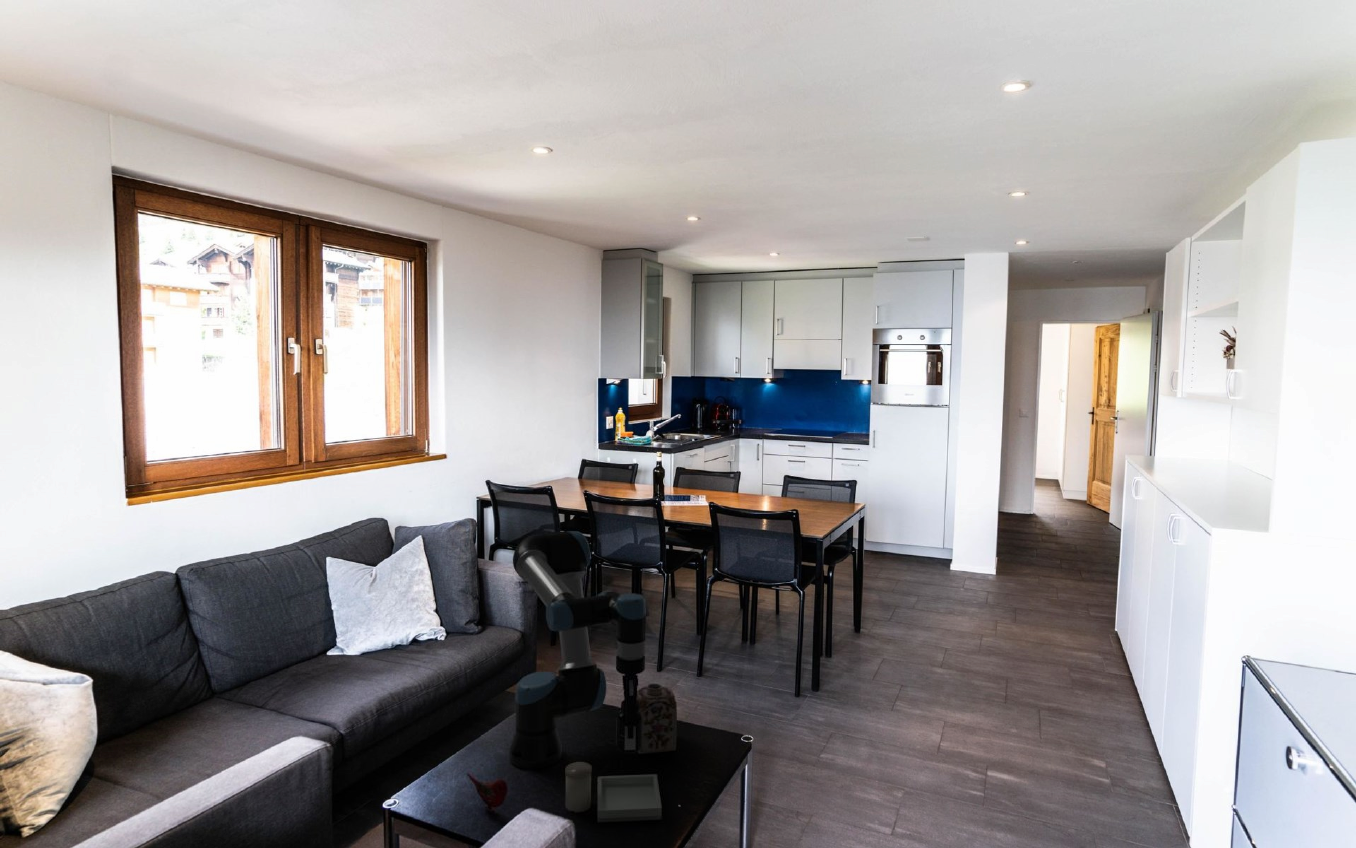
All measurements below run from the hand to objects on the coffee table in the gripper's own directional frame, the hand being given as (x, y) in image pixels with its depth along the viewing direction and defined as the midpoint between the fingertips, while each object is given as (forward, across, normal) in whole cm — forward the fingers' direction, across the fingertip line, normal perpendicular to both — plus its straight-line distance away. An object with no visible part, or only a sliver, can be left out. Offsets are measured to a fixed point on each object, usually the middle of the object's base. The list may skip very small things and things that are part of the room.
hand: (629, 742), depth 192 cm
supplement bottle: (+2, 0, 0) cm, 2 cm away
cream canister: (+16, 0, -13) cm, 21 cm away
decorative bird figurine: (+17, 0, -36) cm, 40 cm away
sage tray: (+16, 0, 0) cm, 16 cm away
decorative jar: (+17, -31, +9) cm, 36 cm away
